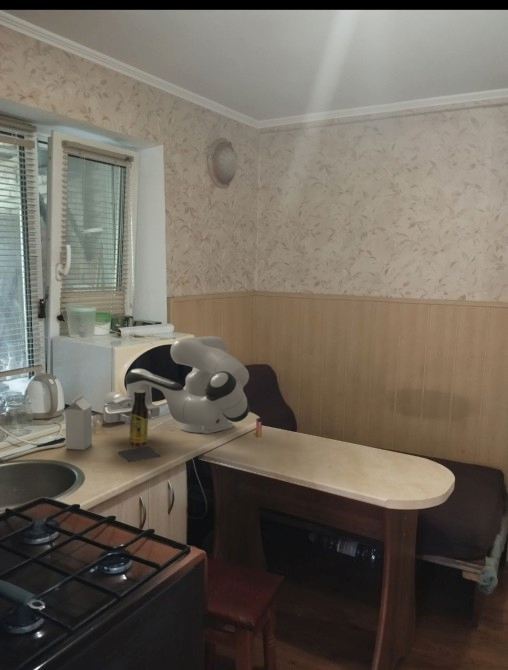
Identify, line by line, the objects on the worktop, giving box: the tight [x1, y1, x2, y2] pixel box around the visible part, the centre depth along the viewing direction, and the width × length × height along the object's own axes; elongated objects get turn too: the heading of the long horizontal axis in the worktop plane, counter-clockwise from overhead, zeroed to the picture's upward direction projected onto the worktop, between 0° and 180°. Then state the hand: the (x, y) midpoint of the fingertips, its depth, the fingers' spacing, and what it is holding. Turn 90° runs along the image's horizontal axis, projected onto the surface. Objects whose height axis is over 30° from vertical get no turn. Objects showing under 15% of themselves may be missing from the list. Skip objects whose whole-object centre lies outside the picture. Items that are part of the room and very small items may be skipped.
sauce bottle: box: [129, 390, 149, 448], centre depth 196 cm, size 6×6×20 cm
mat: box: [117, 445, 161, 463], centre depth 198 cm, size 12×11×1 cm
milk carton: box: [64, 394, 93, 451], centre depth 203 cm, size 7×7×19 cm
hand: (139, 418), depth 195 cm, fingers closed on sauce bottle, 6 cm apart
